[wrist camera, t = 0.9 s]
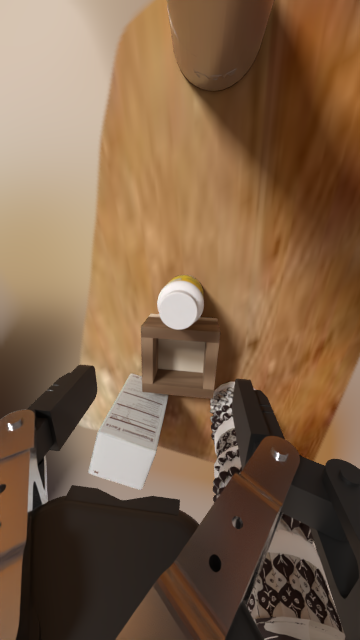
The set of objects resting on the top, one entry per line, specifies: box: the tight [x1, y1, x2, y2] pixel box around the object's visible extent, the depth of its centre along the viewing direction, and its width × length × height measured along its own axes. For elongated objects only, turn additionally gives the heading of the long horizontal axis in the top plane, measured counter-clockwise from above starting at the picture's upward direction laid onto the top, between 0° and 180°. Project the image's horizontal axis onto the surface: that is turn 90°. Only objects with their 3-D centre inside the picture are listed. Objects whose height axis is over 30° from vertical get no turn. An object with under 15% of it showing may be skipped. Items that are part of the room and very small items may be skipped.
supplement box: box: [88, 373, 169, 490], centre depth 31 cm, size 7×7×13 cm
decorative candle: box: [210, 382, 346, 640], centre depth 24 cm, size 9×9×25 cm
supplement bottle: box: [157, 275, 204, 330], centre depth 26 cm, size 5×5×10 cm
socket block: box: [141, 314, 220, 399], centre depth 31 cm, size 10×10×6 cm
